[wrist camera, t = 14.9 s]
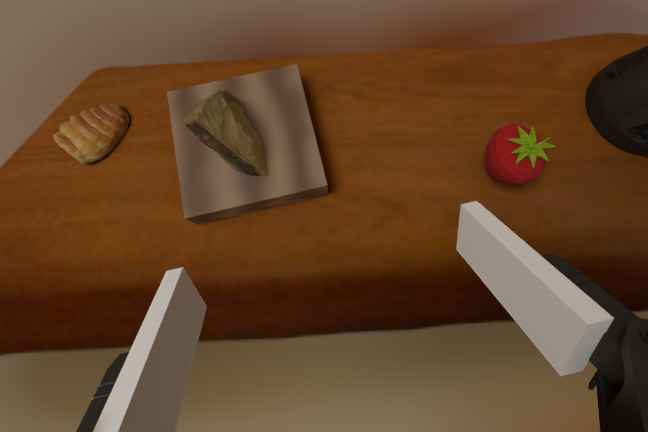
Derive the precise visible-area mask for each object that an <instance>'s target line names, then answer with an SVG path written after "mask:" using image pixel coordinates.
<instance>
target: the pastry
mask: <svg viewBox="0 0 648 432" xmlns="http://www.w3.org/2000/svg"><path fill="white" fill-rule="evenodd" d="M128 124H129V116H128V114H127V113H126V112H125V111H124V110H123V109H122V108H120V106H119V105H117V104H114V103H113V104H110V103H108V104H103V105H95V106H94V107H93V108H91V109H84V110H83V111H82V112H81V113H79V114H76V115H72V116H71V118H70V121H65V122H63V123H61V124H60V128H61V130H60V132H58V133H56V134H54V135H53V136H54V137H53V138H54V139H55V141H56V142H57V143H58V144H59V146H60V147H62V148H63V149H65V150H66V151H67V152H68V153H69V154H71V155H72V156H73V157H74V158H76V159H77V160H78V161H80V162H81V163H82V164H87V163H91V162H94V161H98V160H101V159H102V158H103V157H104V156H105V155H106V154H109V153H110V152H111V150H112V149H113V148H114V147H115V145H116V144H117V143H118V142H119V140H120V139H121V138H122V136H123V135H124V133H125V132H126V130H127V127H128Z"/></svg>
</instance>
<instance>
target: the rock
mask: <svg viewBox="0 0 648 432" xmlns="http://www.w3.org/2000/svg"><path fill="white" fill-rule="evenodd" d="M184 126H185V127H186V128H187V129H188V130H189V131H190V132H191V133H192V134H193V135H194V136H195V137H196V138H197V139H198V140H199V141H201V142H202V143H203V144H205V145H206V146H207V147H209V148H211V149H212V150H213V151H215V152H216V153H217V154H218V155H219V156H220V157H221V158H222V159H223V160H224V161H225V162H226V164H227V165H229V166H230V167H231V168H232V169H233V170H235V171H238V172H241V173H244V174H247V175H251V176H266V175H267V174H268V172H267V170H266V168H265V160H264V151H263V149H264V147H263V145H262V143H261V141H260V138H259V136H258V135H257V133H256V131H255V130H254V129H253V128H252V126H251V123H250V121H249V120H248V118H247V117H246V116H245V115H244V109H243V104H242V102H241V101H240V99H238V98H237V97H236V96H234V95H231V93H230V92H228V91H226V90H223V91H221V90H218V91H216V92H215V93H214V94H212V95H210V96H209V97H207V98H206V99H204V100H202V101H200V102H198V103H197V104H195V108H194V109H192V110H191V111H190V112H189V114H188V115H187V116H186V117H185V119H184Z"/></svg>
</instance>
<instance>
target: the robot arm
mask: <svg viewBox="0 0 648 432" xmlns="http://www.w3.org/2000/svg"><path fill="white" fill-rule="evenodd" d="M586 106H587V110H588V114H589V116H590V119H591V121H592V123H593V124H594V126H595V127H596V129H597V130H598V131H599V132H600V133H601V134H602V136H604V137H605V138H606V139H607V140H608V141H609V142H611V143H612V144H614V145H615V146H617V147H619V148H620V149H622V150H625V151H627V152H630V153H633V154H636V155H641V156H648V46H645V47H643V48H641V49H638V50H636V51H634V52H631V53H629V54H627V55H624V56H622V57H620V58H618V59H616V60H615V61H613V62H612V63H610V64H609V65H608V66H606V67H605V68H604V69H602V70H601V71H600V72H599V73H597V74H596V75H595V76H594V78H593V79H592V80H591V82H590V84H589V86H588V89H587V93H586ZM456 249H457V251H458V252H459V253H460V254H461V256H462V257H463V258H464V259H465V260H466V262H467V263H468V264H469V265H470V267H471V268H472V269H473V270H474V271H475V273H476V274H477V275H478V276H479V278H480V279H481V280H482V281H483V282H484V284H485V285H486V286H487V287H488V288H489V290H490V291H491V292H492V293H493V295H494V296H495V297H496V298H497V299H498V301H499V302H500V303H501V304H502V306H503V307H504V308H505V309H506V310H507V312H508V313H509V314H510V315H511V316H512V318H513V319H514V320H515V321H516V323H517V324H518V325H519V326H520V327H521V329H522V330H523V331H524V332H525V334H526V335H527V336H528V337H529V338H530V340H531V341H532V342H533V343H534V344H535V346H536V347H537V348H538V349H539V351H540V352H541V353H542V354H543V355H544V357H545V358H546V359H547V360H548V362H549V363H550V364H551V365H552V366H553V367H554V369H555V370H556V371H557V373H558V374H559V375H560V376H564V375H568V374H572V373H576V372H581V371H583V370H584V368H585V367H586V365H587V364H588V362H589V361H590V362H591V363H592V364H593V365H594V366H595V367H596V368H597V369H598V370H597V372H596V373H595V375H594V376H593V378H592V380H591V381H590V383H589V387H588V389H590V390H593V389H594V387H595V386H596V385H597V396H598V408H599V420H600V432H648V319H640V318H639V317H637V316H636V315H635V314H633V313H632V312H631V311H629V310H628V309H627V308H626V307H624V306H623V305H622V304H621V303H619V302H618V301H617V300H616V299H614V298H613V297H612V296H611V295H609V294H608V293H607V292H606V291H604V290H603V289H602V288H600V287H599V286H598V285H597V284H595V283H592V281H591V280H590V279H589V278H588V277H587V276H585V275H584V274H581V272H580V271H579V270H578V269H577V268H575V267H574V266H573V265H572V264H570V263H569V262H568V261H566V260H563V259H561V258H559V257H557V256H555V255H553V254H549V255H544V256H541V255H540V254H538V253H537V252H536V251H535V250H534V249H532V248H531V247H530V246H529V245H528V244H527V243H525V242H524V241H523V240H522V239H521V238H520V237H518V236H517V235H516V234H515V233H514V232H513V231H511V230H510V229H509V228H508V227H507V226H505V225H504V224H503V223H502V222H501V221H500V220H498V219H497V218H496V217H495V216H494V215H493V214H491V213H490V212H489V211H488V210H487V209H486V208H484V207H483V206H482V205H481V204H480V203H479V202H477V201H474V202H470V203H465V204H461V207H460V217H459V228H458V238H457V248H456ZM206 307H207V306H206V304H205V303H204V301H203V299H202V298H201V296H200V294H199V293H198V291H197V289H196V288H195V286H194V284H193V283H192V281H191V279H190V278H189V276H188V275H187V273H186V271H185V270H184V268H183V267H182V268H177V269H173V270H169V271H166V273H165V275H164V278H163V280H162V282H161V284H160V286H159V289H158V291H157V293H156V295H155V297H154V299H153V302H152V304H151V306H150V308H149V310H148V313H147V315H146V317H145V319H144V321H143V324H142V326H141V328H140V330H139V332H138V334H137V337H136V339H135V341H134V343H133V345H132V348H131V350H130V352H127V353H123V354H120V355H119V356H118V357H117V358H116V359H115V361H114V362H113V363H112V364H111V365H110V367H109V368H108V369H107V371H106V373H105V375H104V377H103V379H102V381H101V383H100V387H98V389H97V391H96V393H95V395H94V400H92V401H91V403H90V405H89V407H88V410H87V411H86V413H85V415H84V417H83V419H82V421H81V423H80V425H79V427H78V429H77V432H175V430H176V426H177V422H178V418H179V414H180V410H181V406H182V402H183V398H184V394H185V390H186V386H187V382H188V379H189V375H190V370H191V367H192V363H193V359H194V355H195V351H196V347H197V343H198V339H199V335H200V331H201V327H202V323H203V319H204V315H205V311H206Z"/></svg>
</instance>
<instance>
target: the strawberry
mask: <svg viewBox="0 0 648 432" xmlns="http://www.w3.org/2000/svg"><path fill="white" fill-rule="evenodd" d="M549 138H551V137H549ZM549 138H547V139H546V140H548V139H549ZM546 140H544V141H542V142H541V140H540V139H539V137H538V136H537V135H536V134H535V131H534V126H532V128H531V130H530V129H528V128H526V127H524V126H521V125H517V124H510V125H507V126H505V127H503V128H500V129H499V130H497V131H496V132H495V133H494V134H493V136H492V138H491V140H490V142H489V144H488V146H487V148H486V167H487V171H488V173H489V174H490V175H491V176H492V177H494V178H495V179H497V180H499V181H501V182H503V183H506V184H510V185H514V184H526V183H529V182H531V181H532V180H534V179H535V178H536V177H537V176H538V175H539V174H540V173H541V172H542V170H543V168H544V165H545V160H547V161H549V160H548V158H547V156H546V155H545V151H544V148H550V147H556V146H554V145H551V144H549V143H546V142H545V141H546Z"/></svg>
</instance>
